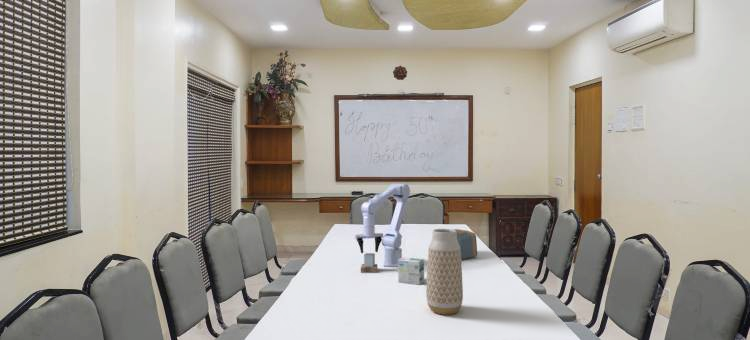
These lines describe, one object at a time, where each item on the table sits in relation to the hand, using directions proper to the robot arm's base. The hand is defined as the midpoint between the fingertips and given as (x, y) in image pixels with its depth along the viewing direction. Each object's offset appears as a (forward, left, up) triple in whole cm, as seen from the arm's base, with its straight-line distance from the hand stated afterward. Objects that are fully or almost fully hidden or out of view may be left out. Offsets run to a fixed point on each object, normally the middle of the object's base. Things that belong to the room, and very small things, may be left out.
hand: (369, 252), depth 233 cm
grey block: (0, 0, -7) cm, 7 cm away
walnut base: (0, 0, -10) cm, 10 cm away
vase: (-33, +57, -10) cm, 67 cm away
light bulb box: (-21, +19, -10) cm, 30 cm away
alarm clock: (-49, -33, -10) cm, 60 cm away
